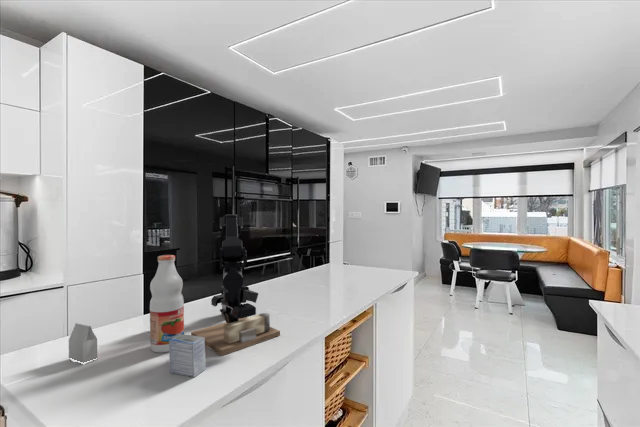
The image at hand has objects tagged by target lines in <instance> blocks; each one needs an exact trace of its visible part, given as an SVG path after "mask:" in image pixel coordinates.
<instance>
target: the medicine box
mask: <svg viewBox="0 0 640 427" xmlns="http://www.w3.org/2000/svg"><path fill="white" fill-rule="evenodd" d="M168 354H169V373H170V374H176V375H180V376H187V377H192V378H196V377H197V376H198V375H200V374H201V373H202V372H204V371H205V370H206V346H205V338H204V337H199V336H192V335H191V334H185V333H184V334H181V335H178V336H176V337H174V338H172V339H171V340H169V352H168Z"/></svg>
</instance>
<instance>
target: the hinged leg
mask: <svg viewBox="0 0 640 427" xmlns="http://www.w3.org/2000/svg"><path fill="white" fill-rule="evenodd" d="M270 316H271V315H270V313H267V312H263V313H259V314H256V315H252V316H249V317H248V318H246V319H242V320H239V321H235V322H232V323H229V324H225V325H224V341H225V342H227V343H229V344H230V343H233V342H236V341H239V332H240V331H244V330H247V329H250V328H256V335H257V334H259V333H262V332H266V331H269V330H270V327H271V324H270V323H271V322H270Z"/></svg>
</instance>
